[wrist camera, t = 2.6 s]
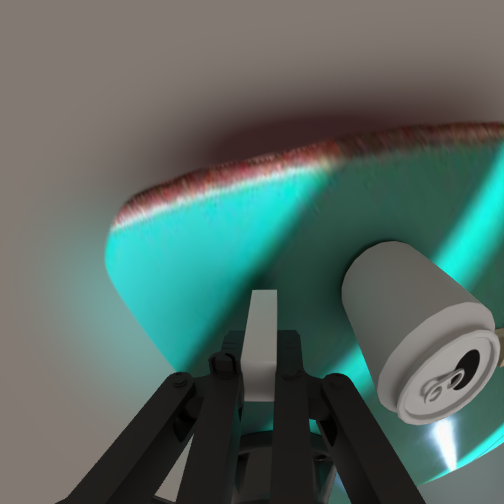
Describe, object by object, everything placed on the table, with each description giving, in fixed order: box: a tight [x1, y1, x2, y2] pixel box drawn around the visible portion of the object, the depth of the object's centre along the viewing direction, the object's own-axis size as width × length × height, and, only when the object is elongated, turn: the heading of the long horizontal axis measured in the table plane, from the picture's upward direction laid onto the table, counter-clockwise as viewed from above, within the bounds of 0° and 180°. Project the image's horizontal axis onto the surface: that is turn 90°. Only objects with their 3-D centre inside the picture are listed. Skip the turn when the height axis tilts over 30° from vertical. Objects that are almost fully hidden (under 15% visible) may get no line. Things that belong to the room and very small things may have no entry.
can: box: [342, 241, 501, 425], centre depth 15 cm, size 8×8×12 cm
